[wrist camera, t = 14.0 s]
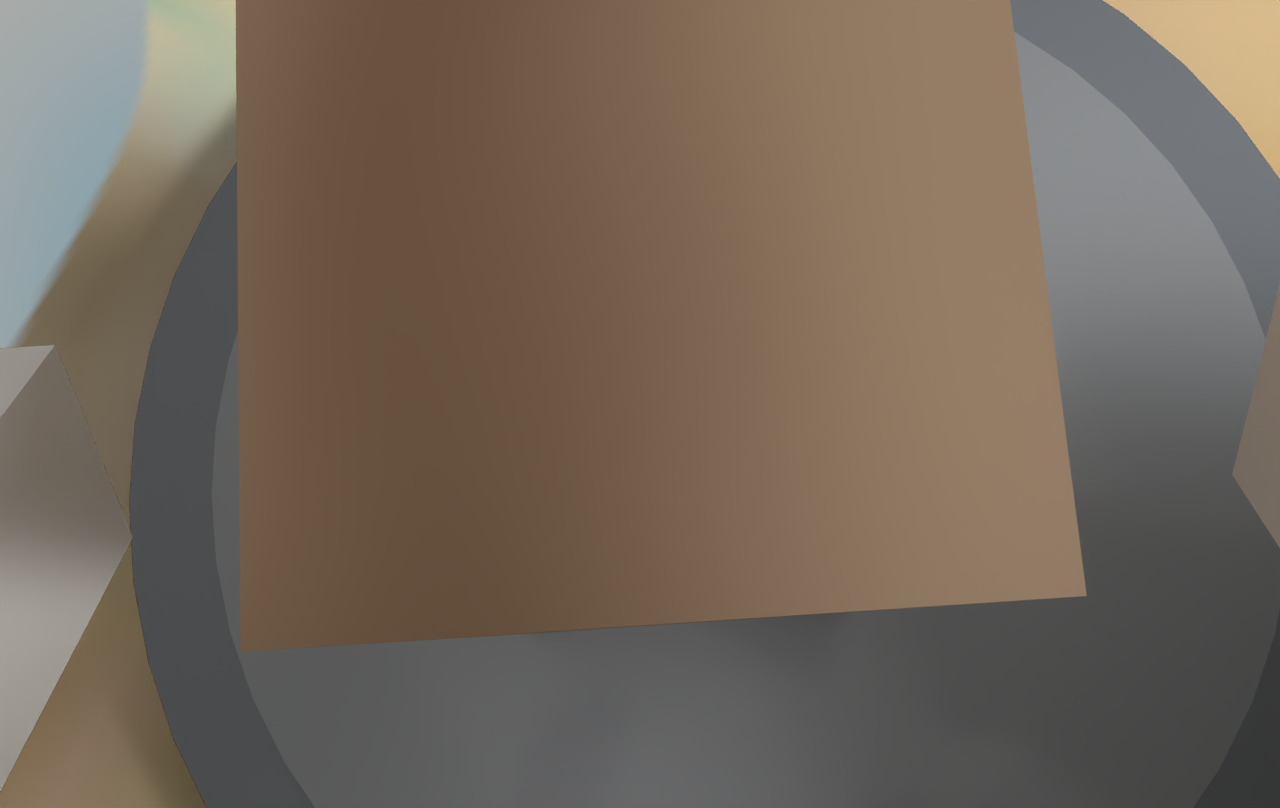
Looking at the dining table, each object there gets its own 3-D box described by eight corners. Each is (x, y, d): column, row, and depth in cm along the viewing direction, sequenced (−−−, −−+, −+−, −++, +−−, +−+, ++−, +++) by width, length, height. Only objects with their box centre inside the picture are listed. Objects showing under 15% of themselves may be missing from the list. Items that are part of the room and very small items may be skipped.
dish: (1243, -117, 22) (1281, -170, 21) (1442, 1071, 19) (1505, 1109, 17) (163, -21, 23) (126, -65, 22) (157, 1135, 20) (113, 1177, 18)
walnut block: (820, 299, 20) (987, -176, 8) (849, 612, 19) (1087, 596, 7) (512, 322, 20) (234, -108, 8) (527, 633, 19) (239, 651, 7)
